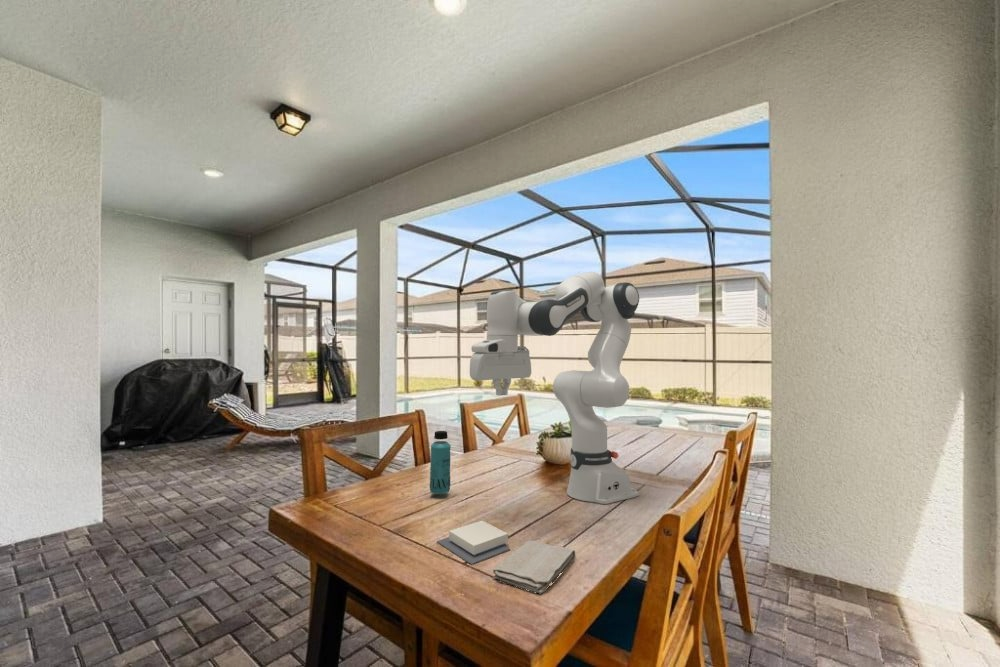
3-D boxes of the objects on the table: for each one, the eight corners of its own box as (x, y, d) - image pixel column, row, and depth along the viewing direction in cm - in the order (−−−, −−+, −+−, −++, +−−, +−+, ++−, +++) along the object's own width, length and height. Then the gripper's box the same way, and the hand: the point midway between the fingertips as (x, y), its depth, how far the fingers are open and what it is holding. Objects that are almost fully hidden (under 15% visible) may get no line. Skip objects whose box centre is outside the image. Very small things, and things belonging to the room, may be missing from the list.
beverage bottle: (425, 497, 137) (426, 432, 137) (436, 490, 143) (437, 428, 143) (444, 500, 134) (444, 434, 135) (454, 493, 141) (454, 430, 141)
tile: (482, 520, 112) (449, 530, 106) (508, 533, 105) (473, 545, 98) (482, 530, 112) (448, 541, 106) (507, 544, 105) (473, 557, 98)
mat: (473, 530, 113) (474, 529, 113) (510, 550, 102) (510, 548, 102) (436, 542, 106) (436, 541, 106) (471, 565, 95) (471, 563, 95)
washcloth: (489, 583, 89) (489, 567, 89) (528, 547, 105) (528, 534, 105) (544, 600, 84) (544, 583, 84) (576, 559, 99) (576, 545, 99)
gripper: (521, 346, 134) (521, 391, 134) (466, 345, 121) (466, 396, 121) (536, 346, 130) (536, 393, 129) (480, 346, 116) (480, 398, 116)
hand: (501, 395), depth 125 cm, fingers closed
